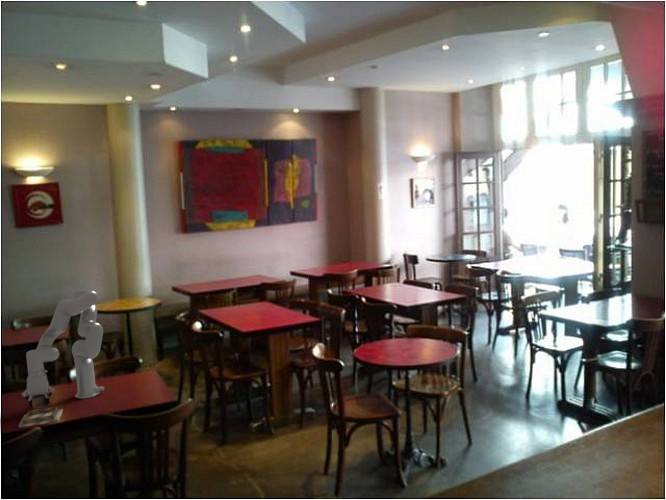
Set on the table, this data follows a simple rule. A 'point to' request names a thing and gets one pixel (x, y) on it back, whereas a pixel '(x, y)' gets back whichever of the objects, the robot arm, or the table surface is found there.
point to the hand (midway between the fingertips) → (39, 405)
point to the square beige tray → (41, 416)
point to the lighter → (39, 402)
